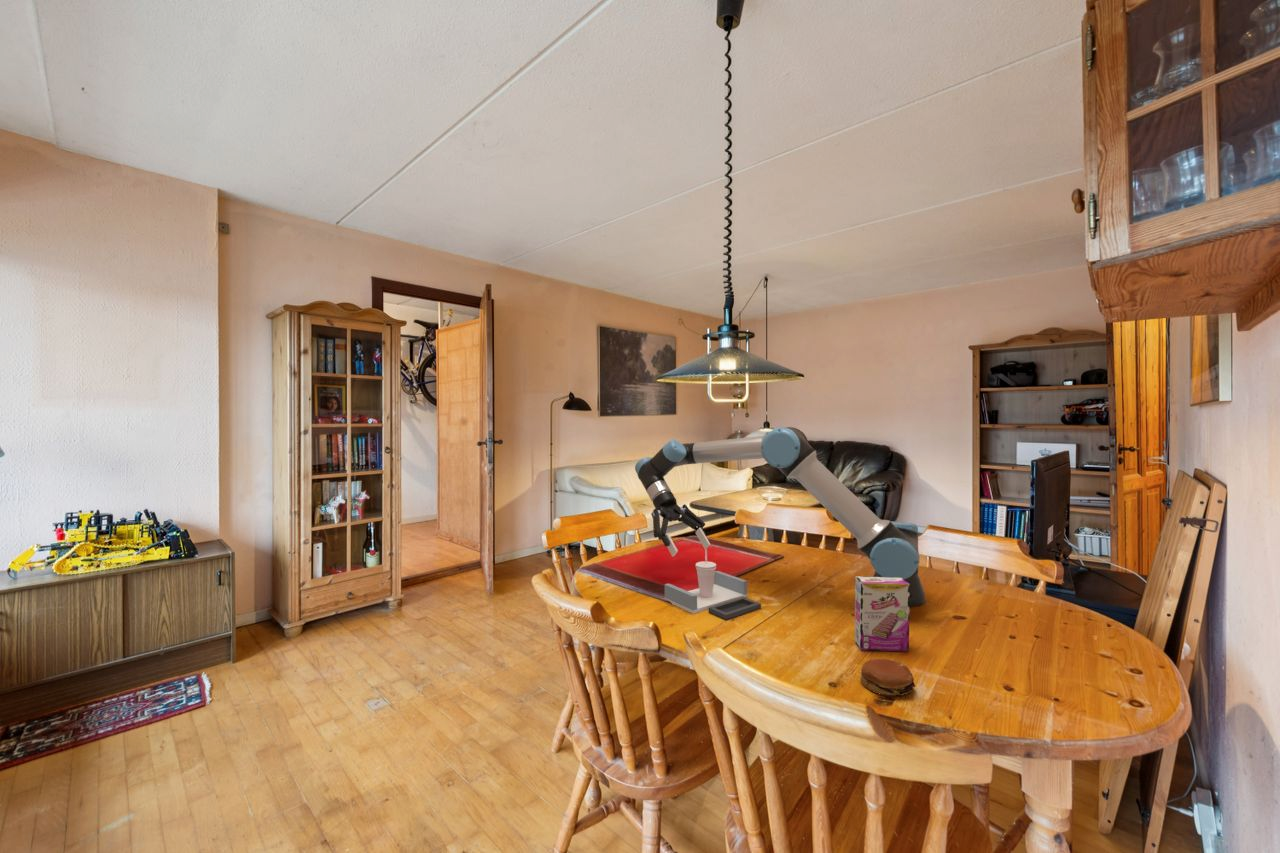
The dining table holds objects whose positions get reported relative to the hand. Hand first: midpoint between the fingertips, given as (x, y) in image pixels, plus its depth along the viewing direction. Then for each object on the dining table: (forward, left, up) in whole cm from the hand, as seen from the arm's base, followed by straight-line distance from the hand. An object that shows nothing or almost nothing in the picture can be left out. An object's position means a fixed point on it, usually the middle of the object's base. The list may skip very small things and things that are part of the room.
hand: (691, 550), depth 160 cm
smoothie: (-6, 0, -13) cm, 14 cm away
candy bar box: (-56, -11, -14) cm, 59 cm away
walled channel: (-6, 0, -14) cm, 15 cm away
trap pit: (-18, 0, -14) cm, 23 cm away
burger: (-66, +5, -14) cm, 67 cm away
